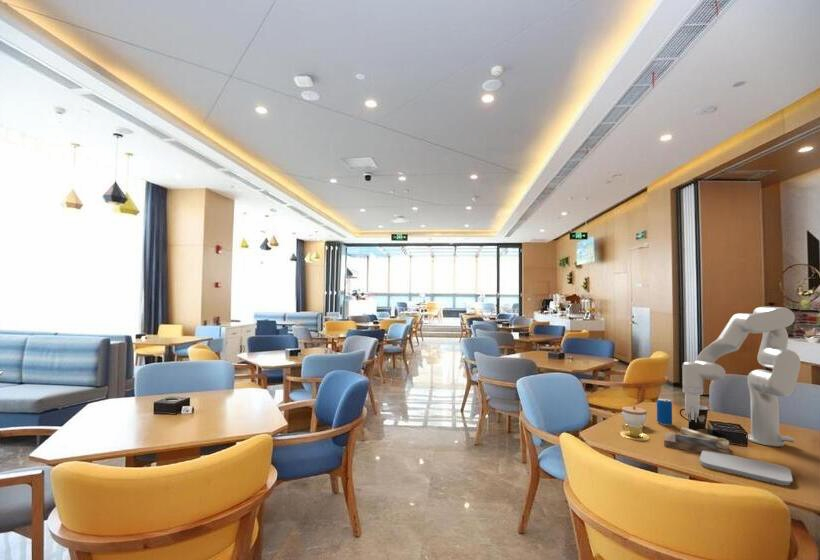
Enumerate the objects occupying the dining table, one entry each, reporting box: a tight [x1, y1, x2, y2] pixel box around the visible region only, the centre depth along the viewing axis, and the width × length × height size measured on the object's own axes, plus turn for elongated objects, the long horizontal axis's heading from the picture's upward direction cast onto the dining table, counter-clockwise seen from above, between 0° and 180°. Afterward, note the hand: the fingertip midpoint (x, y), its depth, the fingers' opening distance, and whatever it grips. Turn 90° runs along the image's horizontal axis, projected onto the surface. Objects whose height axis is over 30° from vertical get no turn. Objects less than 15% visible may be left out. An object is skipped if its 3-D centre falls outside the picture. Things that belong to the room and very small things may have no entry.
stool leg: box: [679, 427, 730, 449], centre depth 171 cm, size 18×3×4 cm, turn 24°
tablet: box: [699, 450, 794, 487], centre depth 150 cm, size 16×26×2 cm, turn 49°
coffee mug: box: [679, 404, 709, 430], centre depth 198 cm, size 12×9×10 cm
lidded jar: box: [621, 405, 648, 426], centre depth 200 cm, size 11×11×9 cm
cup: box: [619, 422, 650, 441], centre depth 185 cm, size 12×12×5 cm
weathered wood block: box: [663, 431, 731, 455], centre depth 172 cm, size 22×13×6 cm, turn 54°
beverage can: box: [656, 397, 673, 426], centre depth 203 cm, size 6×6×12 cm
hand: (692, 430), depth 182 cm, fingers closed
